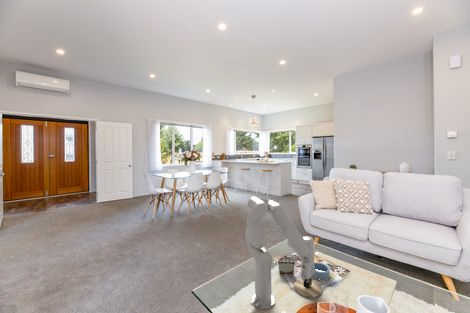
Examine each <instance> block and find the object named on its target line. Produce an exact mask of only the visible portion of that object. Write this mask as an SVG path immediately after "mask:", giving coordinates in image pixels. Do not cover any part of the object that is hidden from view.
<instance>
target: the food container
mask: <svg viewBox="0 0 470 313" xmlns="http://www.w3.org/2000/svg"><path fill="white" fill-rule="evenodd" d="M277 265H278V273H279V275H285V274H294V275H295V273H294V272H295V266H296V262H295V260H294V259H293V258H291V257H285V256H283V257H280V258H278V260H277Z"/></svg>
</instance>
